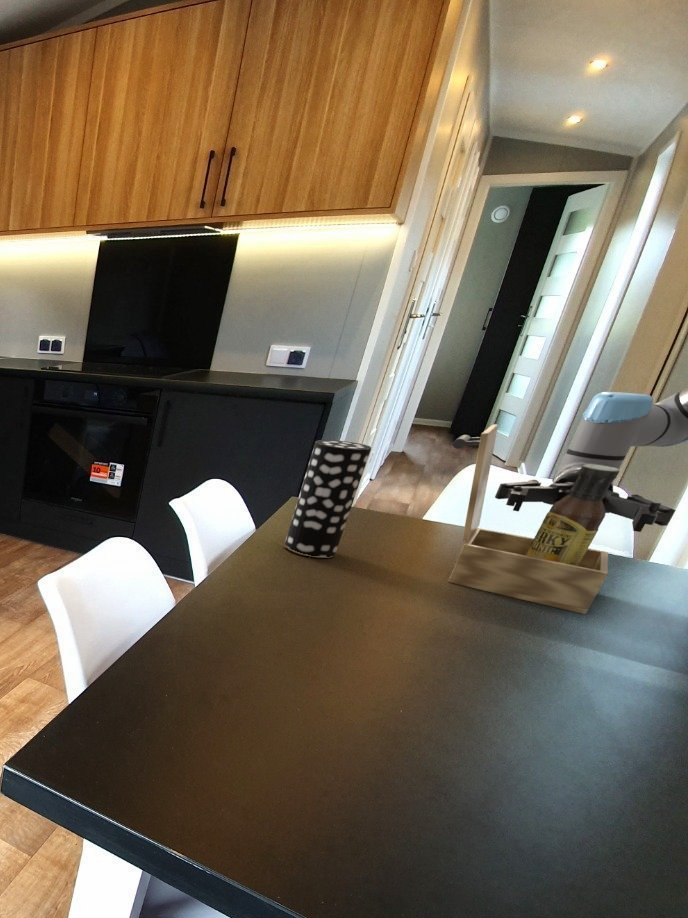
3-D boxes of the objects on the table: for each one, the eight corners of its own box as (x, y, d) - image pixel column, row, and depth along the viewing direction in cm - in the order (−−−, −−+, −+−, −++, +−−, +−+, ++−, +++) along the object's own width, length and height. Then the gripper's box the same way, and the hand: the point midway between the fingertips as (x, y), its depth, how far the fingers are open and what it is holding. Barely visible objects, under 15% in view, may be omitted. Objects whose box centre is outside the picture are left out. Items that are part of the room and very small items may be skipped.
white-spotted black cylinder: (344, 559, 116) (383, 450, 108) (299, 558, 116) (334, 448, 108) (317, 544, 124) (351, 440, 115) (274, 543, 124) (305, 439, 115)
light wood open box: (587, 590, 105) (608, 552, 102) (585, 614, 96) (607, 573, 93) (460, 562, 116) (475, 527, 113) (447, 582, 107) (464, 544, 104)
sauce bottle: (503, 578, 107) (558, 461, 99) (539, 579, 107) (598, 461, 99) (537, 593, 101) (599, 470, 93) (576, 594, 101) (642, 471, 93)
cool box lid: (498, 424, 107) (463, 425, 110) (488, 433, 98) (451, 434, 102) (479, 525, 112) (446, 523, 115) (468, 541, 104) (433, 539, 107)
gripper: (674, 526, 105) (685, 556, 92) (480, 495, 122) (465, 517, 108) (700, 482, 102) (714, 506, 89) (497, 456, 118) (483, 473, 105)
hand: (577, 512), depth 98 cm, fingers open, 13 cm apart
